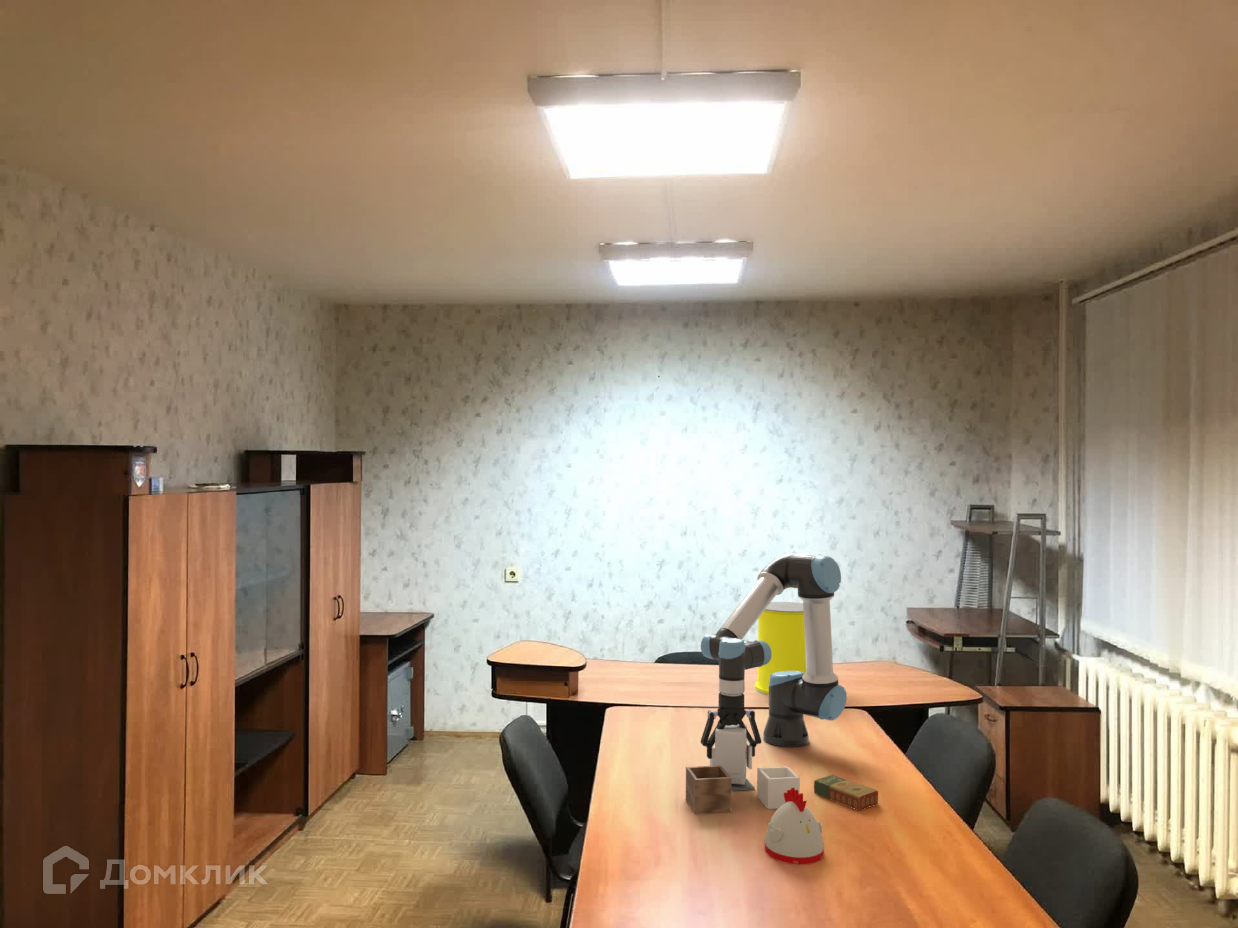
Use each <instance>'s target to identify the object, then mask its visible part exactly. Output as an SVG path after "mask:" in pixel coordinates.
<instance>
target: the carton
mask: <svg viewBox="0 0 1238 928" xmlns="http://www.w3.org/2000/svg"><path fill="white" fill-rule="evenodd" d="M813 790H814V791H813V792H814V794H816V795H818V796H821V797H824V798H826V797H827V799H829V800H831V799H832V801H834V802H836V801H837V802H836V803H838V802H839V804H841V803H842V805H843V804H844V806H846V805H847V806H846V807H848V806H850V807H849V808H851V807H852V808H851V809H853V808H855V809H854V810H856V809H857V810H856V811H858V810H860V811H863V810H865V809H864V808H866V809H868V808H867V807H869V806H872V807H874V806H873V805H875V806H877V805H876V804H879V791H878V790H877V789H874V788H871V787H869V786H866V785H863V784H860V783H857V782H854V781H852V780H848V779H847V778H844V777H841V776H837V775H835V774H831V775H827V776H824V777H823V776H822V777H820V778H817V779H814V782H813ZM869 808H870V807H869ZM862 809H863V810H862Z"/></svg>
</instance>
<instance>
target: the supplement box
mask: <svg viewBox="0 0 1238 928" xmlns="http://www.w3.org/2000/svg"><path fill="white" fill-rule="evenodd" d="M717 724H718V722H717ZM717 724H716V725H717ZM745 726H746V728H748V725H747V724H745ZM715 728H716V727H715ZM747 741H748V740H747V733H746V729H745V728H741V727H740V726H739V725H730V726H727V725H726V726H725V728H724V729H717V728H716V731H715V743H714V748H715V766H719V765H721V766H722V767H723V769H724V770H725V771H726V772H727V773H728V775H729V776H730V777H731V784H742V785H745V781H746V778H747V744H748V743H747Z"/></svg>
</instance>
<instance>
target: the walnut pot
mask: <svg viewBox="0 0 1238 928" xmlns="http://www.w3.org/2000/svg"><path fill="white" fill-rule="evenodd" d="M685 801H686V802H687V804H688V805H689V807H690V809H691V810H692V812H693V813H694V815H697V814H699V815H700V814H715V813H716V814H717V813H730V812H731V813H732V791H731V777H730V776H729V775H728V773H727V772H726V771H725V770H724V769H723V767H722V766H721V765H719V766H710V765H700V766H686V767H685Z"/></svg>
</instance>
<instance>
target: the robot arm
mask: <svg viewBox="0 0 1238 928" xmlns="http://www.w3.org/2000/svg"><path fill="white" fill-rule="evenodd" d="M841 583H842V573H841V569H840V566H839V564H838V562H837V561H836V560H835V559H834V558H832V557H831V556H827V555H823V554H816V553H813V554H812V553H799V552H788V553H784V554H782V555H780V556H778V557H776V558H774V559H773V560H771V562H769V563H767V565H766V566H764V567H763V569H762V570H761V571H760V572H759V574H758V575H757V581H756V582H755V584H754V585H753V586H752V587H751V589H750V590H749V591H748V592H747V594H746V595H744V598H743V599H742V600H741V601H740V603H739V604H738V605H737V607H736V608H735V609H734V610H733V611H732V613H731V614H730V615H729V616H728V617H727V619H726V620H725V622H724V623H723V624H722V625H721V626H720V628H719V629H718V630H717V631H716V632H715V634H714V633H708V634H705V635H704V636H703V637H702V639H701V641H700V651H701V653H702V655H703V657H705V658H708V659H711V660H714V661H718V691H719V693H718V703H717V704H718V707H717V710H716V711H714V710H713V711H712V710H708V711H707V720H706V723H705V726H704V729H703V732H702V736H701V738H700V744H701V745H702V746H703V747H706V757H707V759H708V760H709V766H715V731H716V728H717V729H724V728H725V726H726V725H727V726H730V725H739V726H740V727H741V728H745V729H746V733H747V741H748V743H747V759H746V768H747V769H748V770H753V757H755V756H756V747H757V745H760V744H762V738H761V735H760V732H759V728H758V726H757V722H756V712H755V711H754V710H753V709H752V708H749V709H745V694H744V693H745V687H746V686H745V677H746V676H745V673H746V672H745V671H746V670H750V669H754V668H758V667H761V666H763V665H765V664H767V663H769V661H770V660H771V657H772V652H771V648H770V646H769V645H768V644H767V643H766V642H765V641H761V640H760V641H758V639H757V640H753V641H749V640H745V639H744V638H745V636H746V635H747V634H748V633H749V631H750V630H751V628H753V626H754V624H755V623H756V622H757V621H758V618H759V617H760V615H761V614H762V613H763V612H764V610H765V609H766V608H767V606H768V605H769V604H770V602H773V600H774V599H775V597H777V596H779V595H781V594H782V593H783V592H784V590H787V589H788V588H791V589H792V588H793V589H797V597H798V598H799V599H800V600H801V601H802V603H803V611H804V631H805V652H806V673H805V674H804V673H803V672H801V671H781V672H776V673H773V674H771V676H770V679H769V695H768V718H767V721H766V724H765V725H764V729H763V741H764V742H766V743H767V744H771V745H775V746H779V747H789V748H791V747H793V748H794V747H802V746H805V745H807V744H808V743H809V738H810V737H809V733H808V729H807V727H806V722H805V719H804V715H805V716H809V717H813V718H815V719H816V718H817V719H819V720H825V721H835V720H837V719H838V718H839V717H840V716H841V715H842V714H843V711H844V710H845V707H846V705H847V691H846V688H845V687H844V686H842V684H841V685H840V684H839V676H838V675H837V674H836V673H835V672H834V663H833V662H834V661H833V644H832V643H833V642H832V624H831V623H832V622H831V617H832V616H831V600H832V599H833V598H834V597H835V593H836V592H837V591H838V590H839V589H840V587H841V586H840V585H841ZM717 716H718V717H719V718H718V719H719V720H718V721H717V723H718V724H716V726H715V728H714V730H713V731H712V729H713V726H714V722H715V720H716V718H717ZM745 716H746V717H747V718H748V721H749V724H750V728H751V732H752V734H753V736H752V735H751V733H750V732H749V729H747V728H748V727H747V728H746V726H745V725H746V724H745V723H744V721H743V719H744V718H745ZM711 731H712V733H711Z"/></svg>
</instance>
